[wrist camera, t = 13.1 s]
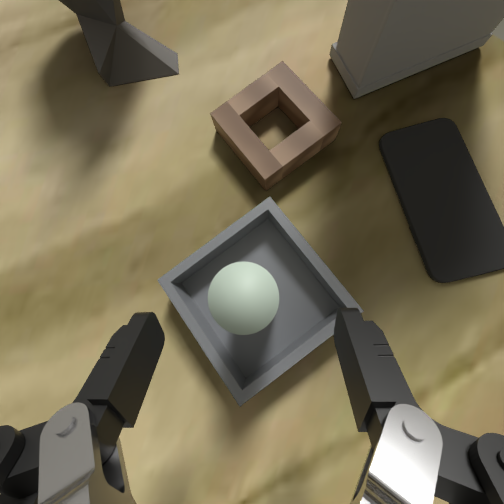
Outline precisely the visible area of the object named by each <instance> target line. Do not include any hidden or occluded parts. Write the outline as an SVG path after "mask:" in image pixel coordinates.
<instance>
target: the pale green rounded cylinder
mask: <svg viewBox="0 0 504 504" xmlns="http://www.w3.org/2000/svg"><path fill="white" fill-rule="evenodd" d="M208 306H209V310H210V312H211V315H212V317H213V318H214V320H215V321H216V322H217V324H218V325H219V326H221V327H222V328H223V329H225V330H226V331H228V332H231V333H233V334H238V335H249V334H253V333H256V332H258V331H261V330H262V329H264V328H265V327H266V326H267V325H268V324H269V323H270V322H271V321H272V320H273V318H274V317H275V315H276V312H277V310H278V306H279V290H278V287H277V284H276V282H275V280H274V278H273V277H272V275H271V274H270V273H269V272H268V271H267V270H266V269H265V268H263V267H262V266H260V265H258V264H255V263H252V262H236V263H232V264H230V265H228V266H226V267H224V268H223V269H221V270H220V271H219V272H218V273H217V274H216V275H215V277H214V278H213V280H212V282H211V284H210V287H209V291H208Z"/></svg>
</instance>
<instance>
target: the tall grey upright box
mask: <svg viewBox="0 0 504 504" xmlns="http://www.w3.org/2000/svg"><path fill="white" fill-rule="evenodd" d="M503 18H504V0H348V3H347V7H346V11H345V15H344V19H343V23H342V27H341V31H340V35H339V38H338V42H336V43H334V44H332V47H331V51H330V56H331V58H332V61H333V62H334V64H335V65H336V67H337V69H338V71H339V73H340V74H341V76H342V78H343V80H344V82H345V83H346V85H347V87H348V89H349V91H350V92H351V94H352V96H353V98H354V99H355V98H359V97H360V96H362V95H365V94H367V93H370V92H372V91H374V90H377V89H379V88H382V87H384V86H387V85H389V84H391V83H394V82H396V81H399V80H401V79H403V78H406V77H408V76H411V75H413V74H415V73H418V72H420V71H423V70H425V69H428V68H430V67H432V66H435V65H437V64H440V63H442V62H444V61H447V60H449V59H452V58H454V57H456V56H459V55H461V54H464V53H466V52H469V51H471V50H473V49H476V48H478V47H481V46H483V45H484V44H485V43H486V41H487V40H488V39H489V38H490V37H491V36H492V34H493V33H492V31H493V30H494V29H495V28H496V27H497V25H498V24H499V23H500V22H501V21H502V19H503Z"/></svg>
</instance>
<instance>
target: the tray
mask: <svg viewBox="0 0 504 504" xmlns="http://www.w3.org/2000/svg"><path fill="white" fill-rule="evenodd" d="M236 262H252V263H255V264H258V265H260V266H262V267H263V268H265V269H266V270H267V271H268V272H269V273H270V274H271V275H272V277H273V278H274V280H275V282H276V284H277V287H278V290H279V306H278V310H277V312H276V315H275V317H274V318H273V320H272V321H271V322H270V323H269V324H268V325H267V326H266V327H265V328H264V329H262V330H261V331H258V332H256V333H253V334H249V335H238V334H233V333H231V332H228V331H226V330H225V329H223V328H222V327H221V326H219V325H218V324H217V322H216V321H215V320H214V318H213V317H212V315H211V312H210V310H209V306H208V291H209V287H210V284H211V282H212V280H213V278H214V277H215V275H216V274H217V273H218V272H219V271H220V270H221V269H223V268H224V267H226V266H228V265H230V264H232V263H236ZM158 282H159V283H160V285H161V286H162V288H163V289H164V291H165V292H166V294H167V296H168V297H169V299H170V300H171V302H172V303H173V305H174V306H175V308H176V309H177V311H178V312H179V314H180V316H181V317H182V319H183V320H184V322H185V323H186V325H187V326H188V328H189V329H190V331H191V332H192V334H193V336H194V337H195V339H196V340H197V342H198V343H199V345H200V346H201V348H202V349H203V351H204V352H205V354H206V356H207V357H208V359H209V360H210V362H211V363H212V365H213V366H214V368H215V369H216V371H217V372H218V374H219V376H220V377H221V379H222V380H223V382H224V383H225V385H226V386H227V388H228V389H229V391H230V392H231V394H232V396H233V397H234V399H235V400H236V402H237V403H238V405H239V406H241V405H243V404H244V403H245V402H246V401H248V400H249V399H250V398H252V397H253V396H254V395H256V394H257V393H258V392H259V391H261V390H262V389H263V388H265V387H266V386H267V385H269V384H270V383H271V382H272V381H274V380H275V379H276V378H278V377H279V376H280V375H282V374H283V373H284V372H285V371H287V370H288V369H289V368H291V367H292V366H293V365H294V364H296V363H297V362H298V361H300V360H301V359H302V358H304V357H305V356H306V355H307V354H309V353H310V352H311V351H313V350H314V349H315V348H317V347H318V346H319V345H320V344H322V343H323V342H324V341H326V340H327V339H328V338H330V337H331V336H332V335H333V334H334V327H335V321H336V316H337V310H338V308H358V309H359V311H360V313H362V312H363V310H362V308H361V307H360V306H359V305H358V303H357V302H356V301H355V300H354V299H353V297H352V296H351V295H350V294H349V292H348V291H347V290H346V289H345V288H344V286H343V285H342V284H341V283H340V281H339V280H338V279H337V278H336V277H335V275H334V274H333V273H332V272H331V270H330V269H329V268H328V267H327V266H326V264H325V263H324V262H323V261H322V259H321V258H320V257H319V256H318V255H317V253H316V252H315V251H314V250H313V248H312V247H311V246H310V245H309V244H308V242H307V241H306V240H305V239H304V237H303V236H302V235H301V234H300V233H299V231H298V230H297V229H296V228H295V226H294V225H293V224H292V223H291V222H290V220H289V219H288V218H287V217H286V215H285V214H284V213H283V212H282V211H281V209H280V208H279V207H278V206H277V204H276V203H275V202H274V201H273V200H272V198H271V197H268V198H267V199H266V200H264V201H263V202H262V203H260V204H259V205H257V206H256V207H255V208H253V209H252V210H251V211H249V212H248V213H247V214H245V215H244V216H243V217H241V218H240V219H239V220H237V221H236V222H235V223H233V224H232V225H231V226H229V227H228V228H227V229H225V230H224V231H222V232H221V233H220V234H218V235H217V236H216V237H214V238H213V239H212V240H210V241H209V242H208V243H206V244H205V245H204V246H202V247H201V248H200V249H198V250H197V251H196V252H194V253H193V254H192V255H190V256H189V257H187V258H186V259H185V260H183V261H182V262H181V263H179V264H178V265H177V266H175V267H174V268H173V269H171V270H170V271H169V272H167V273H166V274H165V275H163V276H162V277H161V278H159V279H158Z"/></svg>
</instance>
